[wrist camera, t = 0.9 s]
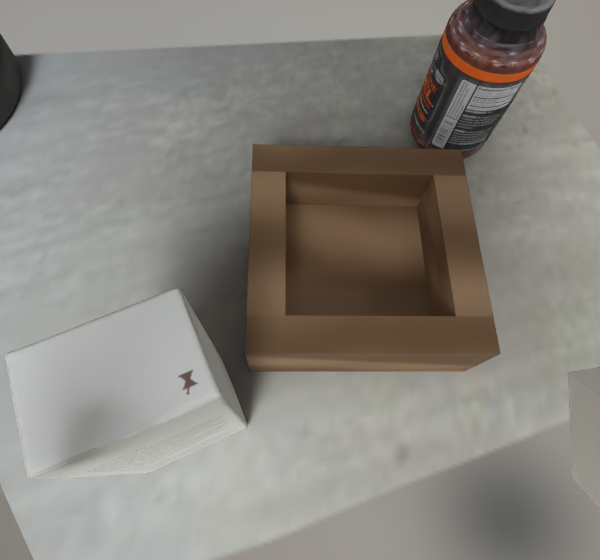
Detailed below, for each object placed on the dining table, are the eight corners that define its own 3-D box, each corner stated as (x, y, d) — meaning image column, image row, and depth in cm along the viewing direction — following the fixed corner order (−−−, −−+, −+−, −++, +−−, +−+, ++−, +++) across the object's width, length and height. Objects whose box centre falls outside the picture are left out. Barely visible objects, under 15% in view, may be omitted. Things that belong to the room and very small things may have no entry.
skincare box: (223, 359, 26) (183, 281, 15) (249, 427, 25) (227, 398, 13) (121, 401, 25) (-3, 351, 14) (143, 476, 23) (24, 488, 12)
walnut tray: (256, 187, 31) (253, 144, 27) (436, 191, 31) (460, 149, 27) (249, 371, 26) (245, 353, 22) (465, 371, 26) (500, 353, 22)
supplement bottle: (406, 99, 35) (462, -57, 24) (479, 105, 35) (566, -47, 25) (409, 160, 32) (472, 16, 22) (487, 166, 33) (587, 26, 22)
